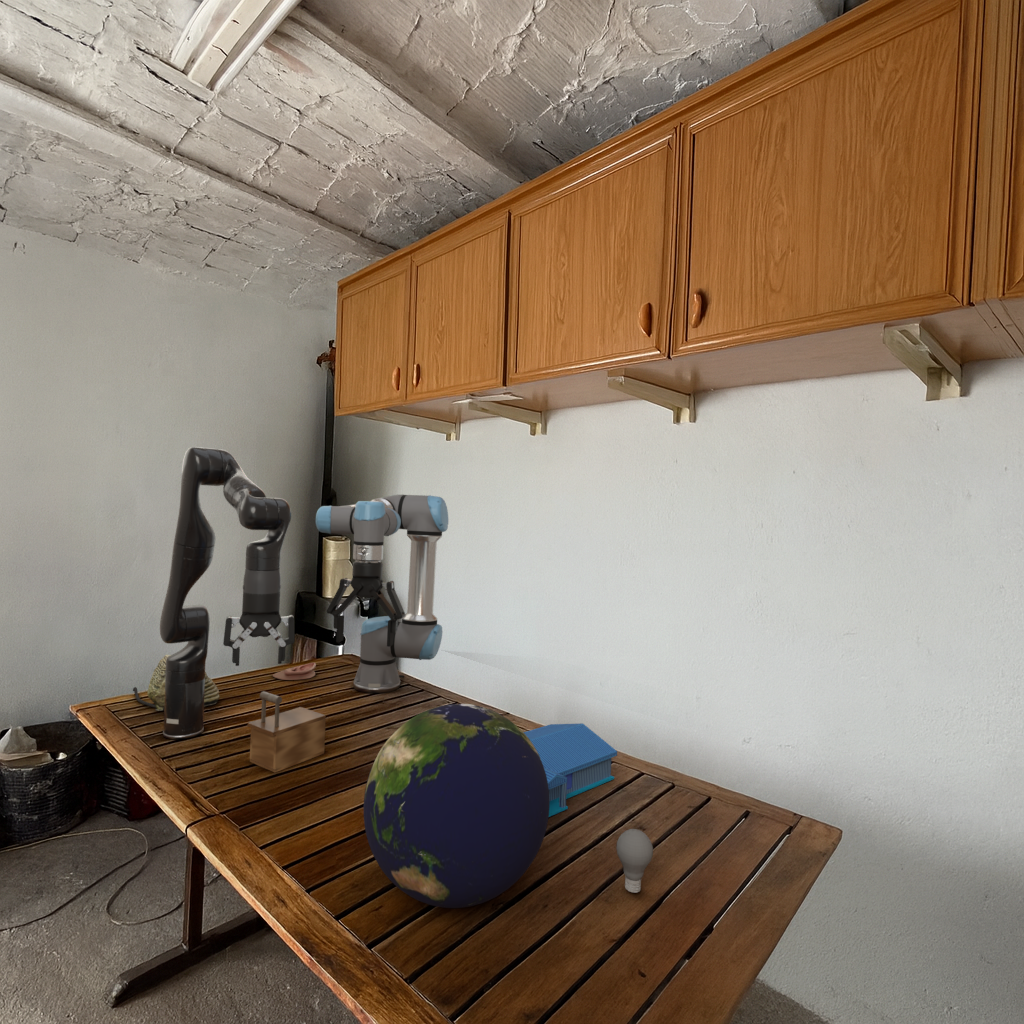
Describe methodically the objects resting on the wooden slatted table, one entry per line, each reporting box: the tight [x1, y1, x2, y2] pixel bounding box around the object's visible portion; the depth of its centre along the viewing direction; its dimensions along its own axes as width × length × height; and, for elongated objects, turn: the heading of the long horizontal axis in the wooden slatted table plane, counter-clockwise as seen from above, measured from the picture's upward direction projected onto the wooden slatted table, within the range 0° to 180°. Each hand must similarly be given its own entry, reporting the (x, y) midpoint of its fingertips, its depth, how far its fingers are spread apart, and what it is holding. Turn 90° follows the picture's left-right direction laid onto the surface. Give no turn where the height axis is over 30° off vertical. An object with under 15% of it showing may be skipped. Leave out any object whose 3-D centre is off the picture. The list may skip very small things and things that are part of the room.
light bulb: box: [615, 828, 654, 894], centre depth 106 cm, size 6×6×10 cm
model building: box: [523, 722, 618, 818], centre depth 142 cm, size 39×24×10 cm, turn 132°
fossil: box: [147, 654, 221, 712], centre depth 185 cm, size 9×18×15 cm, turn 132°
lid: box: [247, 690, 327, 736], centre depth 152 cm, size 15×10×8 cm, turn 147°
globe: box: [363, 703, 550, 909], centre depth 103 cm, size 30×30×30 cm
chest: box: [249, 719, 326, 773], centre depth 153 cm, size 14×10×9 cm
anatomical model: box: [272, 662, 317, 681], centre depth 220 cm, size 13×4×12 cm
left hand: (258, 664), depth 137 cm, fingers open, 8 cm apart
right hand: (364, 643), depth 163 cm, fingers open, 13 cm apart
